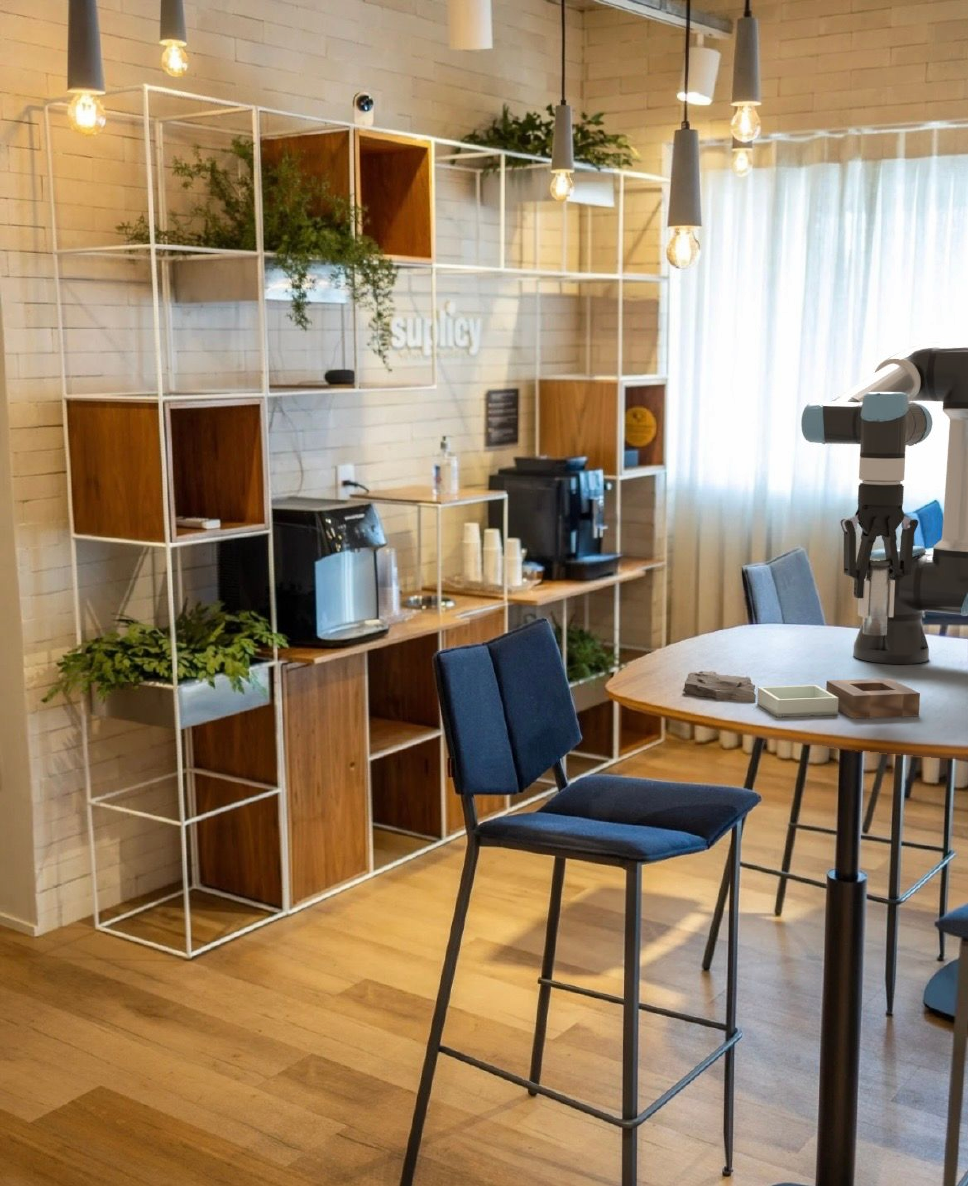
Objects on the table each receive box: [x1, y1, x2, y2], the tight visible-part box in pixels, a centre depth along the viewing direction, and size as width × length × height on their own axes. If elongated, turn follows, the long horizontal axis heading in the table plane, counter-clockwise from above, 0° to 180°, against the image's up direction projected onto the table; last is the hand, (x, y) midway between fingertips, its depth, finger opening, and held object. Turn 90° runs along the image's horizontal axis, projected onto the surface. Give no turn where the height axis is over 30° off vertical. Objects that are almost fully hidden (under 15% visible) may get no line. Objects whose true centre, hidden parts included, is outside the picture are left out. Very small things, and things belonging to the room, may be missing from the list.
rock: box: [682, 670, 757, 703], centre depth 254 cm, size 14×9×4 cm
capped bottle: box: [862, 558, 891, 636], centre depth 240 cm, size 4×4×13 cm
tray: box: [756, 684, 839, 718], centre depth 243 cm, size 11×10×3 cm
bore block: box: [825, 678, 921, 719], centre depth 243 cm, size 12×12×4 cm
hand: (875, 615), depth 240 cm, fingers closed on capped bottle, 4 cm apart
